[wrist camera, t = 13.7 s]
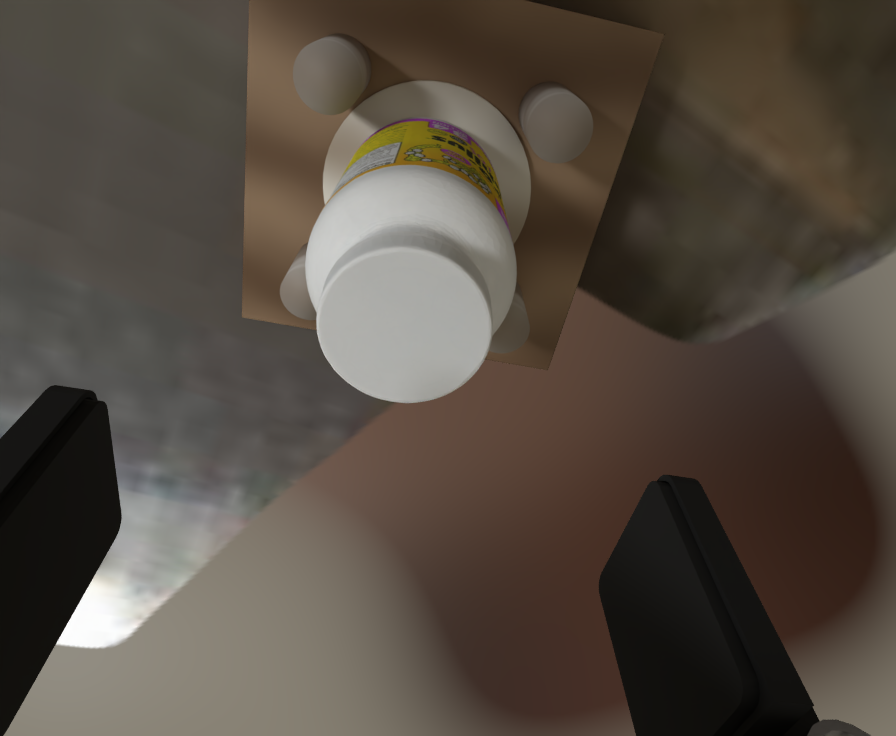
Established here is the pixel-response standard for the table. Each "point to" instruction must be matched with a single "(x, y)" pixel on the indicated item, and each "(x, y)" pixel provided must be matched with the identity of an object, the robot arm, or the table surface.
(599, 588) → the robot arm
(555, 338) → the stub board
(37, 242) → the table surface
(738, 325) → the table surface
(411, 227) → the supplement bottle
